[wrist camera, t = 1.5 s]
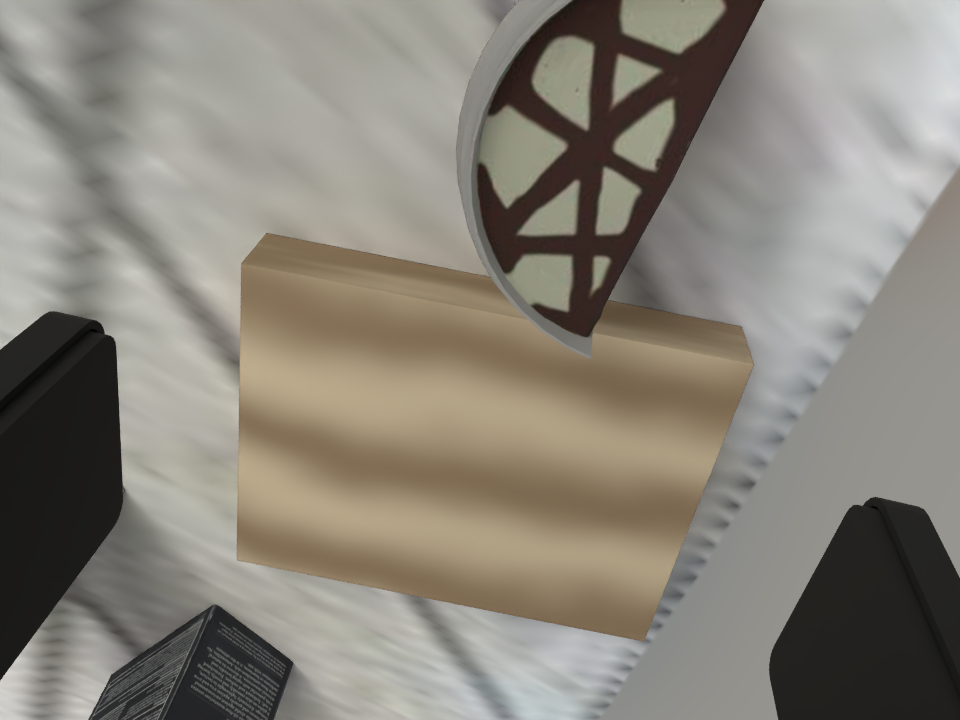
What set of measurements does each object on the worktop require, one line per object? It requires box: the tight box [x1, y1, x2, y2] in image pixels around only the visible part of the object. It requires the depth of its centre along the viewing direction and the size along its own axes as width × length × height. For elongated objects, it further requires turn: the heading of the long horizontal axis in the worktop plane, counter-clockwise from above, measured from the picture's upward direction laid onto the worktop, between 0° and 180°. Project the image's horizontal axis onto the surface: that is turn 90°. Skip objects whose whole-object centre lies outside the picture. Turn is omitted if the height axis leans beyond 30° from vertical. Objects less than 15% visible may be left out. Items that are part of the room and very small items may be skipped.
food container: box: [456, 0, 764, 359], centre depth 26 cm, size 12×6×10 cm, turn 159°
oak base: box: [237, 233, 754, 641], centre depth 38 cm, size 16×20×3 cm
